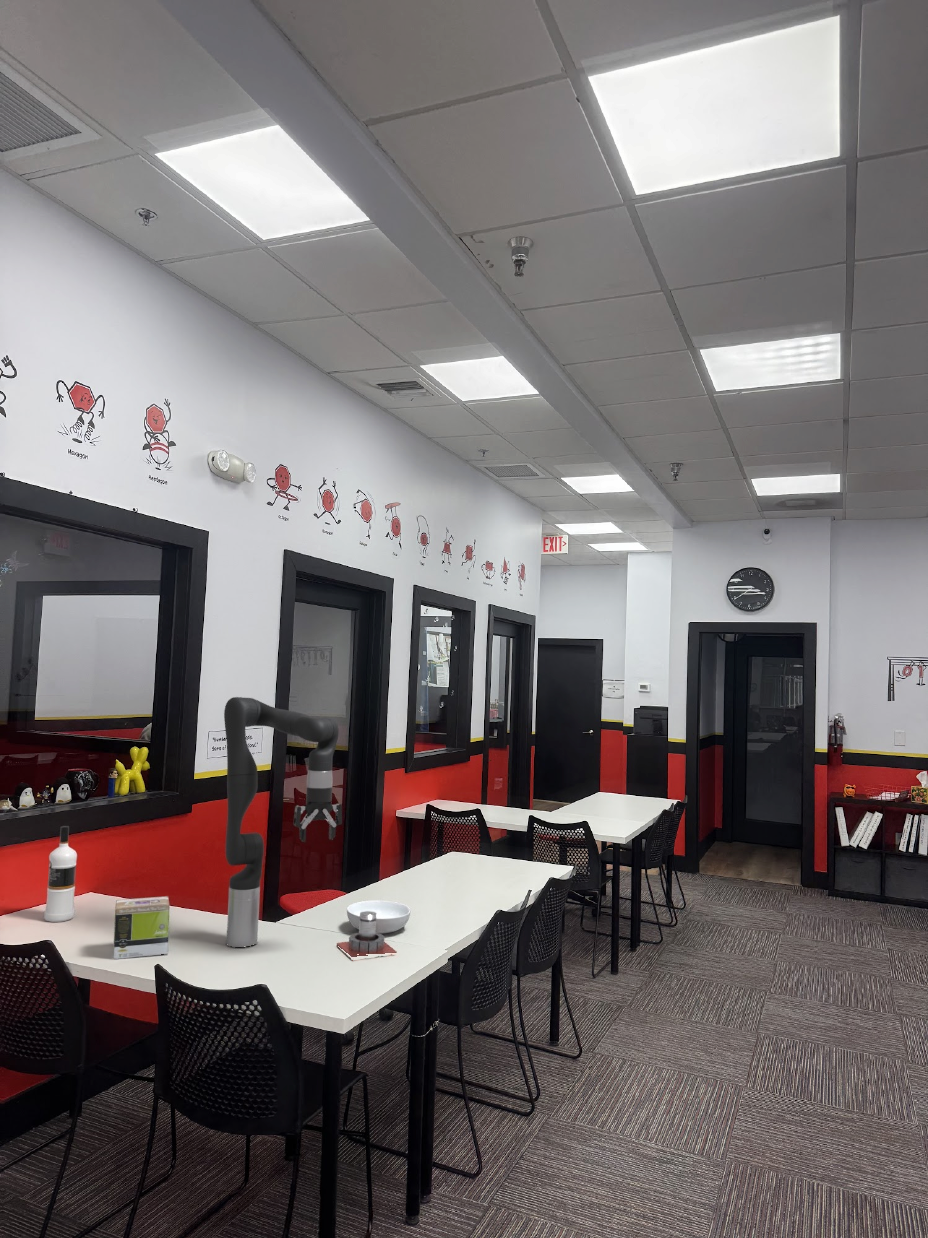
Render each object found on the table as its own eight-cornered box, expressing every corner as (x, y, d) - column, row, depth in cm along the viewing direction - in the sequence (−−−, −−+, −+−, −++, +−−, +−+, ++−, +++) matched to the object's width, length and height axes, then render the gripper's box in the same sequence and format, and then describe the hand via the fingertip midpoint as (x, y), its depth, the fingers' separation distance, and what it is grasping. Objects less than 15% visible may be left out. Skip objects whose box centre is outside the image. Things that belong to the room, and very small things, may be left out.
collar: (336, 946, 263) (337, 933, 263) (379, 941, 269) (379, 928, 270) (352, 961, 251) (353, 947, 251) (396, 955, 257) (397, 941, 257)
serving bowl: (379, 944, 266) (380, 922, 267) (332, 930, 279) (333, 908, 279) (422, 929, 283) (423, 908, 283) (376, 916, 296) (377, 896, 296)
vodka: (75, 921, 279) (81, 828, 281) (44, 924, 275) (49, 829, 276) (73, 913, 287) (79, 823, 289) (43, 916, 283) (48, 824, 285)
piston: (355, 945, 261) (357, 912, 262) (371, 944, 263) (372, 910, 264) (361, 950, 256) (363, 916, 257) (377, 948, 259) (379, 915, 260)
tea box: (166, 945, 259) (169, 895, 260) (168, 955, 250) (170, 904, 251) (113, 949, 254) (116, 898, 255) (112, 960, 245) (115, 907, 245)
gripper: (338, 783, 262) (335, 836, 261) (292, 784, 255) (290, 839, 254) (346, 786, 255) (344, 841, 254) (299, 788, 248) (297, 844, 248)
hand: (317, 840), depth 254 cm, fingers open, 8 cm apart
